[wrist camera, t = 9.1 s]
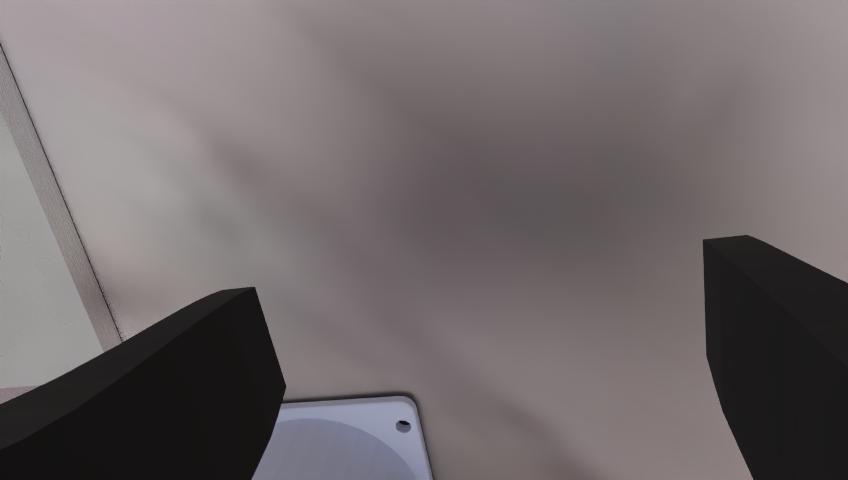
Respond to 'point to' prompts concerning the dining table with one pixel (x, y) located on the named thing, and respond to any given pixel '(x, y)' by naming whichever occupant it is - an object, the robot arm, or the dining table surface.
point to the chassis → (41, 262)
